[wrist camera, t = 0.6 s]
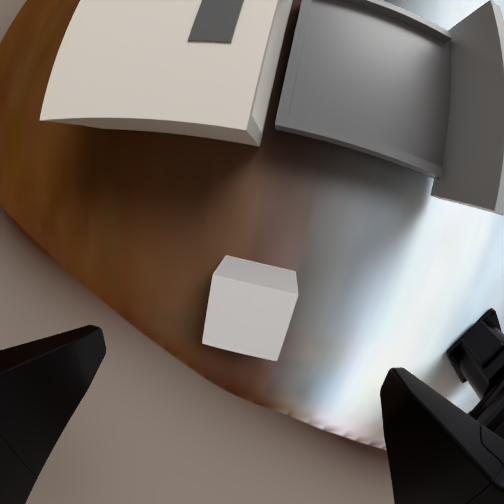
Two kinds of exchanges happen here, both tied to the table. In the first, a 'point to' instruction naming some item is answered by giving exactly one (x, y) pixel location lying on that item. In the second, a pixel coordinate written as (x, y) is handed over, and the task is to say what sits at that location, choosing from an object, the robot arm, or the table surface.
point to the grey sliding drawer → (403, 92)
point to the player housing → (169, 67)
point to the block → (250, 307)
